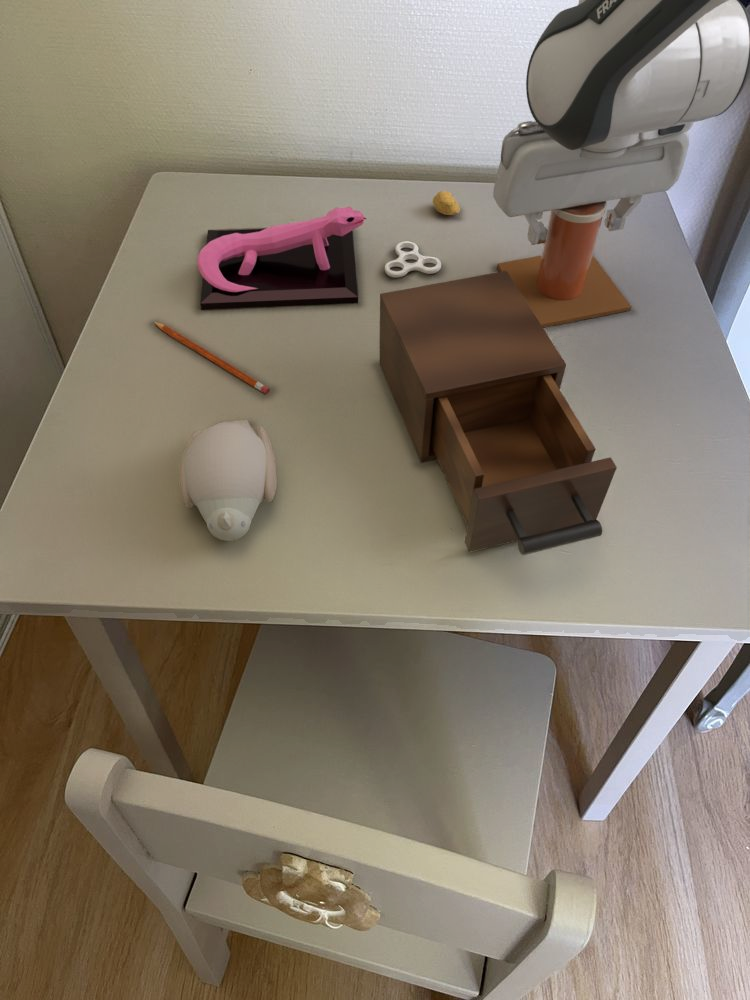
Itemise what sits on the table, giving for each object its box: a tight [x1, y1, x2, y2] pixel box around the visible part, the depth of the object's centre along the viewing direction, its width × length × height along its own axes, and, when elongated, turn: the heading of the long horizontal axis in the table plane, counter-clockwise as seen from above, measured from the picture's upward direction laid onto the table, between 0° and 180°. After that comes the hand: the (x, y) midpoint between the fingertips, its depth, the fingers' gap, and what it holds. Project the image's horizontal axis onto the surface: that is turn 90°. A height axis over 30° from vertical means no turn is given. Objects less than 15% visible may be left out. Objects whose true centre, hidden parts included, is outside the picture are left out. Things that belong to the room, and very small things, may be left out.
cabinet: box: [378, 271, 567, 464], centre depth 78 cm, size 15×14×10 cm
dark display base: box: [196, 206, 367, 311], centre depth 92 cm, size 15×20×7 cm
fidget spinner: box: [384, 240, 442, 279], centre depth 96 cm, size 7×6×1 cm
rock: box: [432, 190, 461, 216], centre depth 102 cm, size 4×4×3 cm
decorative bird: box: [178, 419, 278, 542], centre depth 72 cm, size 9×16×8 cm, turn 9°
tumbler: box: [536, 201, 608, 300], centre depth 88 cm, size 6×6×11 cm
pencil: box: [154, 321, 270, 395], centre depth 86 cm, size 1×18×1 cm, turn 51°
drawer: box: [430, 374, 617, 556], centre depth 70 cm, size 18×12×8 cm
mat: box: [496, 254, 632, 329], centre depth 93 cm, size 12×12×1 cm
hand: (574, 234), depth 87 cm, fingers open, 8 cm apart
